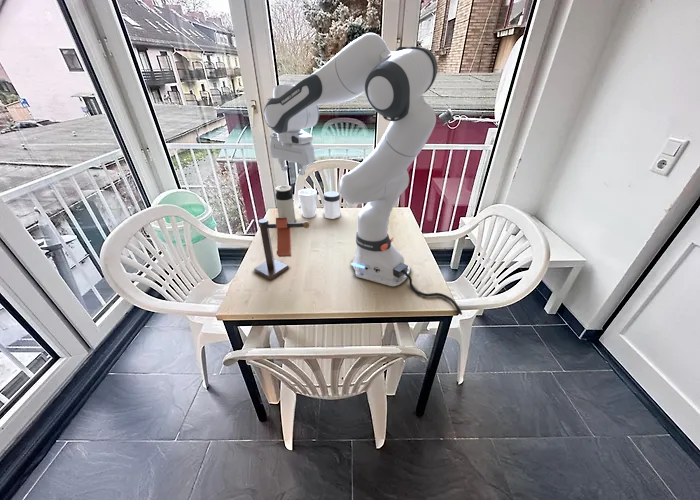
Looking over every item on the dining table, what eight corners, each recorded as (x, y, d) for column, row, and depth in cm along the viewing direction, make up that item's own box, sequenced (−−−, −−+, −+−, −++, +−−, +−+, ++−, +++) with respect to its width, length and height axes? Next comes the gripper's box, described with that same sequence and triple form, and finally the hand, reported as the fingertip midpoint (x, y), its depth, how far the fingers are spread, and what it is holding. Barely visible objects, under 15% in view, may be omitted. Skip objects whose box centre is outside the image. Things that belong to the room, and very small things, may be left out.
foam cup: (317, 219, 147) (316, 195, 140) (299, 219, 146) (297, 195, 139) (318, 211, 155) (317, 188, 148) (301, 211, 154) (299, 188, 147)
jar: (334, 210, 156) (334, 189, 149) (343, 215, 150) (343, 194, 144) (320, 215, 151) (319, 193, 144) (329, 220, 146) (329, 198, 139)
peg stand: (251, 281, 104) (240, 230, 92) (257, 261, 114) (248, 213, 103) (312, 278, 106) (308, 227, 94) (313, 258, 116) (309, 211, 105)
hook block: (279, 257, 102) (278, 225, 105) (291, 256, 103) (291, 224, 105) (274, 252, 94) (274, 217, 97) (288, 251, 95) (287, 217, 97)
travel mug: (297, 218, 147) (293, 185, 137) (293, 225, 140) (289, 191, 131) (282, 217, 148) (277, 184, 138) (277, 224, 141) (272, 190, 131)
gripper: (263, 133, 107) (268, 169, 114) (304, 140, 97) (307, 179, 105) (276, 130, 111) (280, 166, 119) (316, 137, 102) (318, 175, 109)
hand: (293, 172), depth 112 cm, fingers open, 8 cm apart
